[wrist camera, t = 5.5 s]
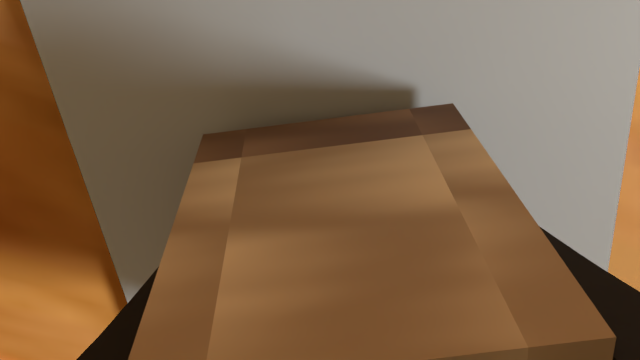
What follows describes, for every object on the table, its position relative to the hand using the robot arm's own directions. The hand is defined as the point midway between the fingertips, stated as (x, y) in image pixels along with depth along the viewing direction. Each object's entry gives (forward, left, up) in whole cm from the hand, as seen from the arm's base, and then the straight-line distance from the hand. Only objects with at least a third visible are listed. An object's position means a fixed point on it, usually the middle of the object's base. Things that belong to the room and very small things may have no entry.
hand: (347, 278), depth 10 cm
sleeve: (0, 0, -2) cm, 2 cm away
